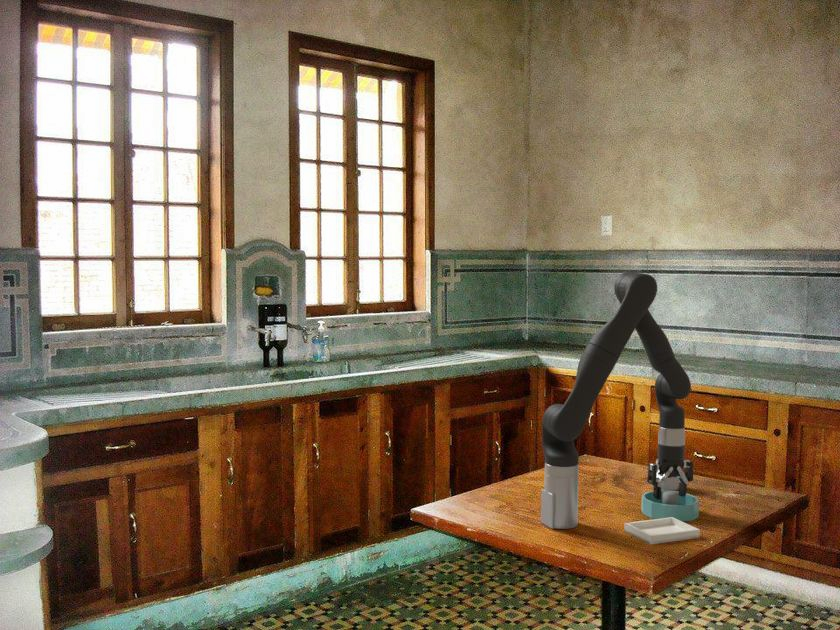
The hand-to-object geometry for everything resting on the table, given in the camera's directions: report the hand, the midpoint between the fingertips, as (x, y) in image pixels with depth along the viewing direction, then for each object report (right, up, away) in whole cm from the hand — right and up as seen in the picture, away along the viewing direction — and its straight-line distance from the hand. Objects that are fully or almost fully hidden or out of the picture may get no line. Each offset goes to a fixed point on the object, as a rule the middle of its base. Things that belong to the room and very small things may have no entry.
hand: (670, 497), depth 250 cm
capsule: (0, -4, 0) cm, 4 cm away
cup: (+6, -3, +26) cm, 27 cm away
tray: (-8, -6, -19) cm, 21 cm away
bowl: (0, -5, 0) cm, 5 cm away
